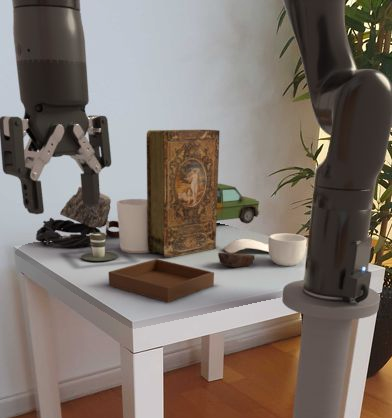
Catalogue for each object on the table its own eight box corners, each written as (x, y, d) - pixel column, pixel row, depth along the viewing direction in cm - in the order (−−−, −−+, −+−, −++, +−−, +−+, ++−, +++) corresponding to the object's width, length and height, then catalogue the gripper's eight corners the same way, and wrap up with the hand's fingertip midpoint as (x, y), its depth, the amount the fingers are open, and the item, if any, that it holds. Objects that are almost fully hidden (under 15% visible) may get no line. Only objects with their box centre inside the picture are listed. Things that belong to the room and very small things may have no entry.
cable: (53, 231, 139) (52, 213, 138) (108, 234, 139) (108, 216, 137) (31, 246, 124) (29, 227, 122) (93, 249, 123) (92, 230, 121)
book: (202, 243, 131) (205, 129, 121) (219, 247, 127) (223, 130, 117) (147, 253, 120) (145, 130, 110) (163, 258, 117) (163, 131, 107)
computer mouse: (276, 257, 120) (276, 244, 119) (221, 255, 123) (221, 243, 122) (279, 247, 128) (280, 235, 127) (228, 246, 130) (228, 234, 129)
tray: (213, 285, 100) (214, 272, 99) (167, 302, 91) (167, 287, 90) (156, 271, 108) (156, 258, 107) (108, 285, 99) (108, 271, 98)
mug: (146, 255, 119) (145, 206, 115) (110, 250, 122) (108, 203, 118) (169, 245, 128) (169, 199, 124) (136, 241, 131) (135, 196, 127)
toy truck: (261, 223, 154) (263, 185, 150) (195, 230, 144) (195, 191, 140) (239, 216, 163) (240, 180, 159) (174, 223, 153) (174, 185, 149)
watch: (107, 230, 141) (104, 216, 139) (125, 227, 141) (122, 214, 139) (104, 241, 134) (101, 227, 132) (124, 238, 134) (121, 224, 132)
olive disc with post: (135, 260, 114) (134, 236, 112) (77, 266, 109) (75, 241, 107) (116, 248, 124) (116, 225, 122) (63, 252, 119) (61, 229, 117)
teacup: (308, 268, 112) (311, 241, 110) (271, 268, 112) (273, 241, 109) (296, 255, 121) (299, 231, 119) (262, 255, 121) (263, 231, 119)
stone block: (68, 181, 123) (56, 213, 125) (105, 199, 124) (92, 231, 126) (85, 185, 137) (73, 214, 139) (118, 201, 138) (106, 229, 139)
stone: (212, 265, 112) (212, 250, 111) (232, 259, 118) (233, 244, 116) (238, 271, 109) (240, 256, 107) (258, 265, 114) (260, 250, 113)
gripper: (17, 52, 54) (36, 221, 60) (121, 61, 64) (127, 204, 71) (-27, 55, 58) (-5, 213, 64) (77, 63, 68) (87, 198, 75)
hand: (64, 208), depth 67 cm, fingers open, 8 cm apart
